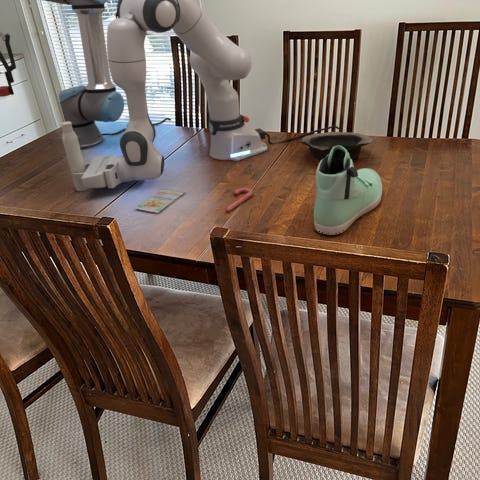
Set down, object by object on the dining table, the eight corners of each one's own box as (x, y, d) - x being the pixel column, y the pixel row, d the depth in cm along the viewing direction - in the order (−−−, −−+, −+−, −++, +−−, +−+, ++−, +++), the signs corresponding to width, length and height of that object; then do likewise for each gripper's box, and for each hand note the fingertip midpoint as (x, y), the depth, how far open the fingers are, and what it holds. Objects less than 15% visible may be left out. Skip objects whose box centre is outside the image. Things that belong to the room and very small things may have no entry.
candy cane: (212, 209, 144) (212, 204, 144) (241, 189, 154) (240, 185, 154) (228, 213, 141) (228, 209, 140) (256, 193, 151) (256, 189, 151)
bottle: (85, 191, 162) (68, 125, 150) (73, 190, 163) (55, 125, 151) (92, 185, 166) (76, 120, 154) (80, 184, 167) (63, 120, 155)
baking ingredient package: (134, 207, 147) (161, 188, 159) (134, 208, 148) (161, 189, 159) (157, 212, 144) (184, 192, 155) (158, 213, 144) (184, 193, 155)
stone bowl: (329, 177, 157) (328, 150, 153) (288, 159, 177) (286, 135, 173) (387, 158, 166) (388, 132, 161) (342, 144, 186) (341, 120, 182)
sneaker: (389, 187, 148) (396, 123, 138) (356, 242, 123) (361, 168, 112) (346, 181, 154) (350, 119, 144) (306, 232, 129) (307, 161, 118)
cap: (14, 93, 149) (12, 86, 148) (1, 97, 146) (-2, 90, 145) (6, 92, 151) (4, 85, 150) (-7, 96, 148) (-9, 88, 147)
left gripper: (-58, 17, 131) (-27, 102, 143) (10, 10, 137) (34, 92, 149) (-56, 15, 137) (-27, 97, 149) (9, 8, 143) (32, 88, 155)
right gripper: (120, 149, 168) (82, 151, 169) (108, 172, 151) (64, 175, 151) (124, 165, 172) (86, 168, 172) (112, 190, 154) (69, 193, 155)
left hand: (3, 95), depth 149 cm, fingers closed on cap, 4 cm apart
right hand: (75, 171), depth 162 cm, fingers closed on bottle, 5 cm apart
